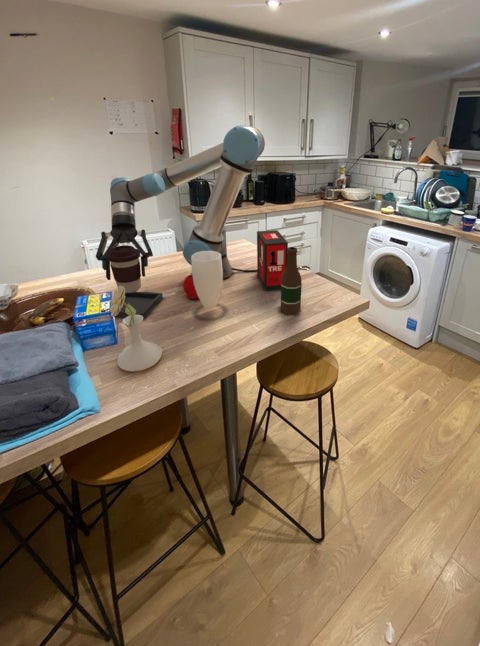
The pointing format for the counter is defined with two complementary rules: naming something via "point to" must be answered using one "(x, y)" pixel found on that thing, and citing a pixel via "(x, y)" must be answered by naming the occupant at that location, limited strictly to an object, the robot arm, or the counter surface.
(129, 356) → the flower in vase
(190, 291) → the fruit
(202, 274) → the cup
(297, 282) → the beer bottle
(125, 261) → the coffee cup
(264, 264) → the cleaning product box
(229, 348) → the counter surface
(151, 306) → the black square tray
